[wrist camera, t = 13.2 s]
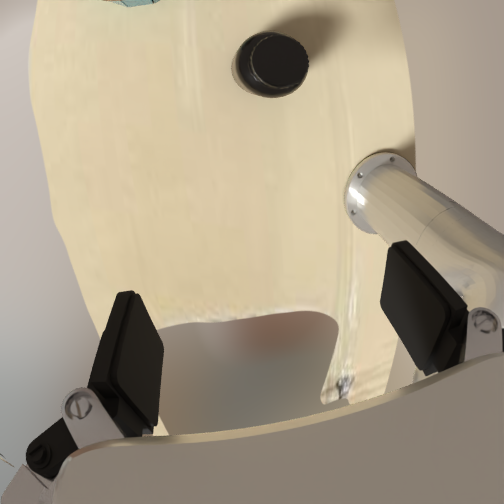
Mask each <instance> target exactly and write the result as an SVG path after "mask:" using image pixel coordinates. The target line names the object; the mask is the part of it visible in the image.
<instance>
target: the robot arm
mask: <svg viewBox="0 0 504 504" xmlns="http://www.w3.org/2000/svg"><path fill="white" fill-rule="evenodd" d="M358 173H359V174H358ZM344 204H345V209H346V212H347V215H348V217H349V218H350V220H351V221H352V223H353V224H354V225H355V226H356V227H357V228H359V229H360V230H362V231H364V232H366V233H369V234H378V235H379V236H380V237H381V238H382V239H383V240H384V241H385V242H386V243H387V244H388V245H389V246H390V247H389V249H388V253H387V261H386V268H385V275H384V281H383V287H382V293H381V299H380V304H381V308H382V310H383V311H384V313H385V315H386V316H387V318H388V319H389V321H390V323H391V324H392V326H393V327H394V329H395V331H396V332H397V334H398V336H399V337H400V339H401V340H402V342H403V344H404V345H405V347H406V349H407V351H408V352H409V354H410V356H411V358H412V359H413V361H414V363H415V365H416V368H415V372H414V375H413V384H410V385H408V386H405V387H403V388H400V389H397V390H395V391H392V392H389V393H386V394H383V395H380V396H377V397H374V398H371V399H368V400H365V401H362V402H359V403H355V404H352V405H349V406H345V407H342V408H338V409H335V410H331V411H327V412H323V413H319V414H315V415H311V416H307V417H302V418H298V419H293V420H288V421H284V422H278V423H273V424H267V425H262V426H255V427H249V428H242V429H236V430H228V431H219V432H209V433H199V434H186V435H171V436H149V437H148V436H147V437H142V434H153V429H154V426H157V424H158V412H159V398H160V385H161V375H162V364H163V355H164V354H163V353H164V347H163V343H162V341H161V339H160V337H159V335H158V333H157V330H156V328H155V326H154V324H153V322H152V320H151V318H150V316H149V314H148V312H147V310H146V307H145V305H144V303H143V301H142V299H141V296H140V295H139V294H138V293H137V294H135V292H134V291H132V290H131V291H125V292H119V293H118V294H117V296H116V299H115V301H114V304H113V307H112V310H111V313H110V316H109V319H108V322H107V325H106V328H105V331H104V332H103V334H102V337H101V340H100V343H99V347H98V350H97V354H96V357H95V360H94V364H93V367H92V371H91V375H90V379H89V382H88V386H87V388H82V387H81V388H77V389H75V390H73V391H71V392H70V393H69V394H68V395H67V396H66V397H65V399H64V400H63V403H62V406H61V413H62V416H63V417H62V418H61V419H60V420H58V421H57V422H56V423H54V424H53V425H52V426H51V427H50V428H48V429H47V430H46V431H45V432H43V433H42V434H41V435H40V436H38V437H37V438H36V439H35V440H33V441H32V442H31V443H30V444H29V446H28V448H27V452H26V461H27V465H26V466H25V465H24V464H22V466H21V467H20V469H19V470H18V472H17V473H16V475H15V476H14V478H13V479H12V481H11V482H10V484H9V485H8V487H7V488H6V490H5V491H4V493H3V495H2V497H1V504H504V235H503V234H502V233H500V232H498V231H497V230H496V229H494V228H493V227H491V226H490V225H488V224H487V223H485V222H484V221H482V220H481V219H479V218H478V217H477V216H475V215H474V214H472V213H471V212H470V211H468V210H467V209H465V208H464V207H462V206H461V205H460V204H458V203H457V202H455V201H454V200H452V199H451V198H449V197H448V196H446V195H445V194H443V193H441V192H440V191H438V190H437V189H435V188H433V187H432V186H430V185H429V184H427V183H426V182H424V181H422V180H421V179H419V178H417V174H416V172H415V170H414V168H413V166H412V165H411V164H410V163H409V162H408V161H407V160H406V159H405V158H403V157H401V156H399V155H397V154H394V153H389V152H382V153H377V154H374V155H371V156H369V157H368V158H366V159H364V160H363V161H362V162H361V163H360V164H359V165H357V167H356V168H355V169H354V171H353V172H352V174H351V175H350V177H349V179H348V182H347V185H346V188H345V194H344ZM460 296H463V299H462V298H461V297H460Z"/></svg>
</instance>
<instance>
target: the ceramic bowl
mask: <svg viewBox="0 0 504 504" xmlns="http://www.w3.org/2000/svg"><path fill="white" fill-rule="evenodd" d="M153 1H154V2H155V3H156V2H158V1H159V0H122V1H110V2H113V3H117V4H120V5H123V6H126V7H133V6H139V5H146V4H153Z"/></svg>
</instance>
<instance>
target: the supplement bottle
mask: <svg viewBox="0 0 504 504" xmlns="http://www.w3.org/2000/svg"><path fill="white" fill-rule="evenodd" d="M308 63H309V60H308V55H307V54H306V50H305V49H304V47H303V46H302V45H301V44H300V43H299V42H297V41H296V40H295V39H294V38H292V37H291V36H289V35H287V34H284V33H281V32H276V31H265V32H260V33H257V34H255V35H253V36H251V37H249V38H248V39H247V40H246V41H244V42H243V44H242V45H241V46H240V48H239V49H238V51H237V52H236V54H235V56H234V58H233V61H232V66H231V70H232V75H233V78H234V80H235V81H236V83H237V84H238V85H239V86H240V87H241V88H242V89H243V90H245V91H247V92H249V93H251V94H255V95H258V96H262V97H267V98H278V97H283V96H286V95H289V94H291V93H293V92H294V91H296V90H297V89H298V88H299V87H300V86H301V85H302V83H303V82H304V80H305V78H306V76H307V72H308V67H309V64H308Z"/></svg>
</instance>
